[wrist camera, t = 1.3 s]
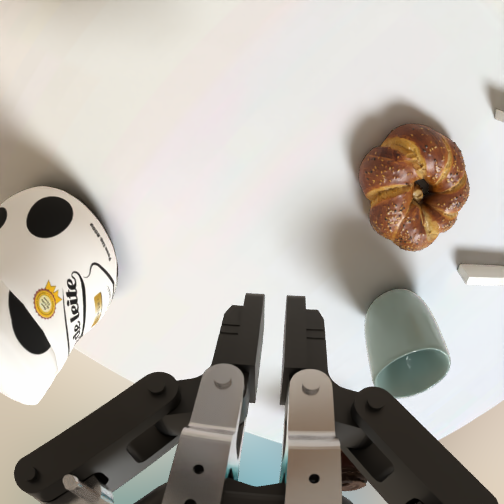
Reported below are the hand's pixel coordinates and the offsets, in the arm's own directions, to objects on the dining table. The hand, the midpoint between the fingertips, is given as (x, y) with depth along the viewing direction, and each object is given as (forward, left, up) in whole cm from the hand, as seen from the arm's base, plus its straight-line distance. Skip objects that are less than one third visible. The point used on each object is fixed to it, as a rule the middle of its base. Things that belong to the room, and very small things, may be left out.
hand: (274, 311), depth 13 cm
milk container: (+8, -25, -17) cm, 31 cm away
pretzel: (0, +12, -18) cm, 21 cm away
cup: (+14, +13, -17) cm, 26 cm away
